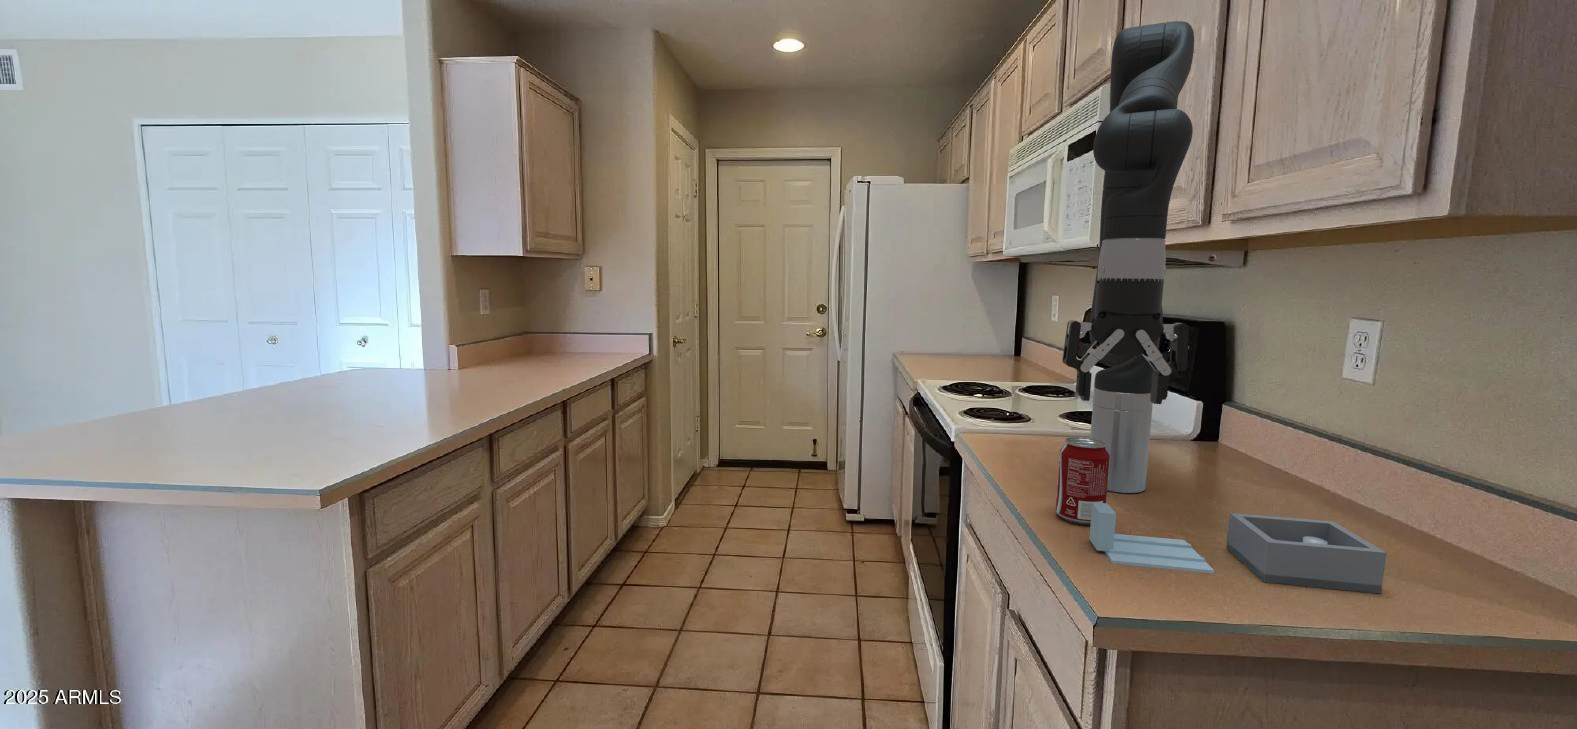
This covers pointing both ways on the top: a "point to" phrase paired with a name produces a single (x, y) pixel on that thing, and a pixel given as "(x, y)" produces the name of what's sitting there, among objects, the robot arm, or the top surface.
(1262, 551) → the grey shallow tray
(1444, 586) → the top surface
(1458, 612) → the top surface
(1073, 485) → the soda can
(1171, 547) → the lid
